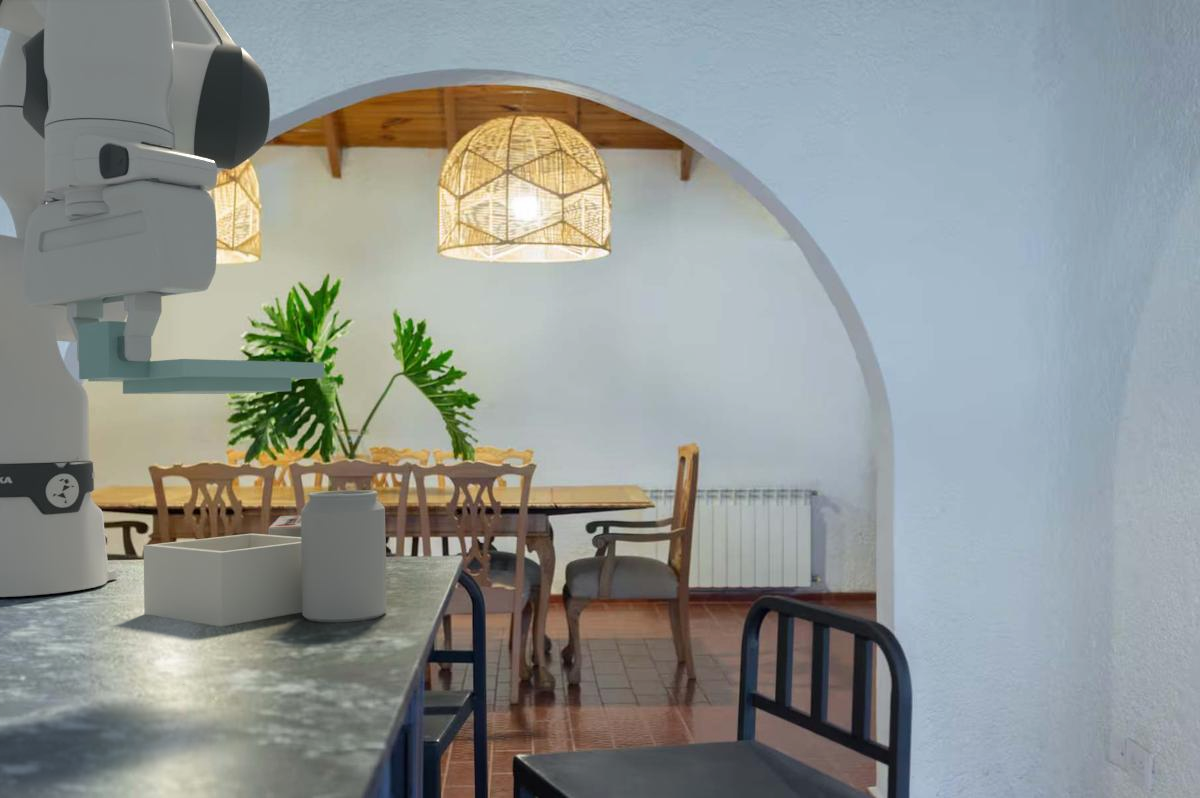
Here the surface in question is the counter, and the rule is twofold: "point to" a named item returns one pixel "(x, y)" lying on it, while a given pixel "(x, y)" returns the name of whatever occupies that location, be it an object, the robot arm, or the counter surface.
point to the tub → (224, 579)
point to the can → (343, 556)
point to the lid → (181, 369)
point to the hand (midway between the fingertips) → (113, 363)
